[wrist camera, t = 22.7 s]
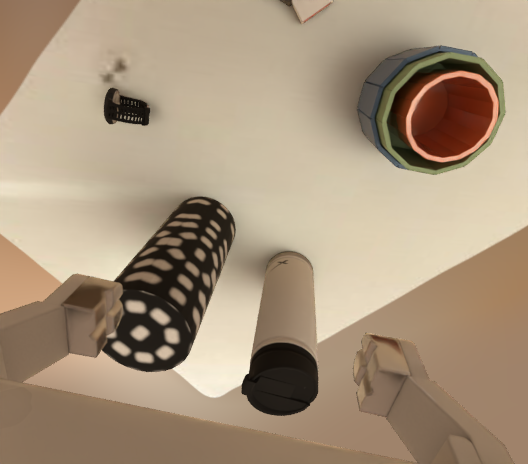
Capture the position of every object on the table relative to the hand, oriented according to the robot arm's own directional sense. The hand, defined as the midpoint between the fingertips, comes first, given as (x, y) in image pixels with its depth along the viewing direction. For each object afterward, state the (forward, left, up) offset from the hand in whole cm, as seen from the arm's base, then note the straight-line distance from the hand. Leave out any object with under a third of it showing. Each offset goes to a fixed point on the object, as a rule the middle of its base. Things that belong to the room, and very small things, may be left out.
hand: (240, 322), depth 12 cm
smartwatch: (0, -17, -32) cm, 36 cm away
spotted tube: (+13, -8, -32) cm, 35 cm away
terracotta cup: (-6, +12, -29) cm, 32 cm away
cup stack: (-6, +12, -31) cm, 34 cm away
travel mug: (+17, +4, -32) cm, 36 cm away
